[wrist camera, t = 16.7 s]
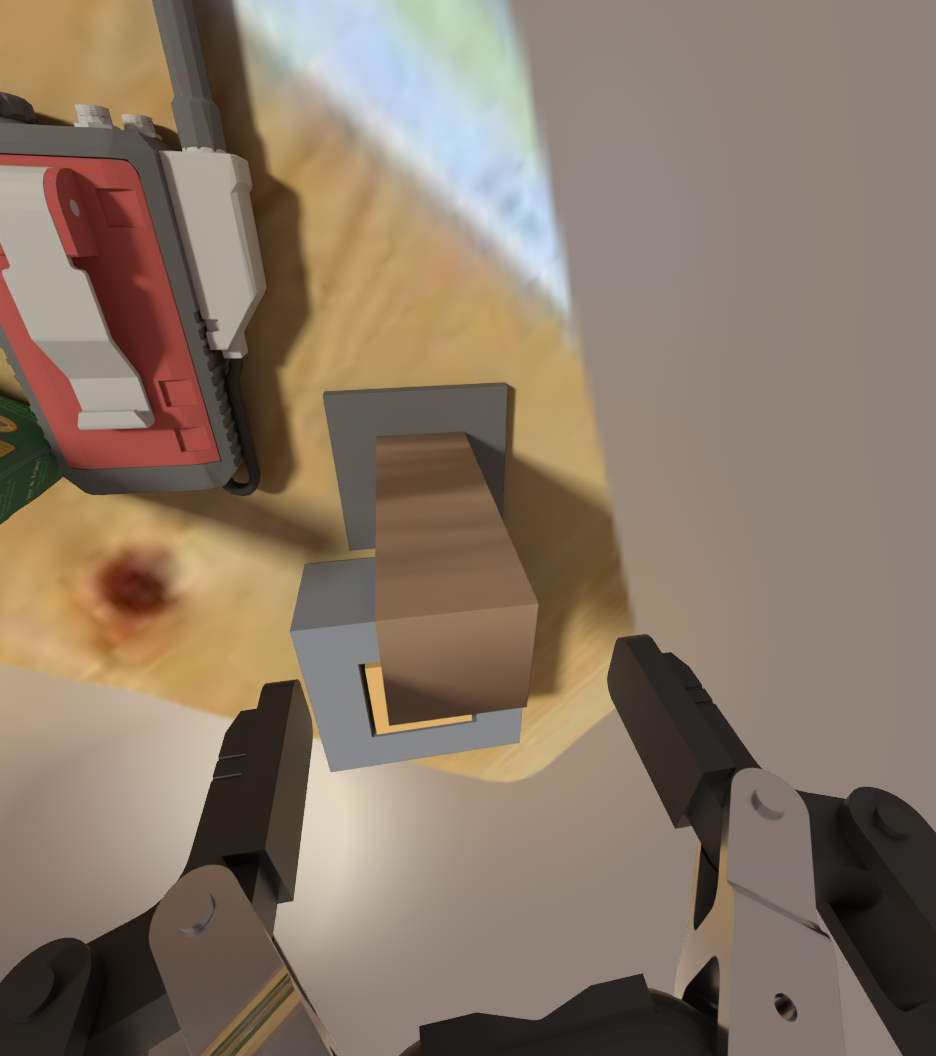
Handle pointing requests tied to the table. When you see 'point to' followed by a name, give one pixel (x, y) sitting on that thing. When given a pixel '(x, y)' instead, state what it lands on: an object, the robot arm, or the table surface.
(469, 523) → the tall cardboard-brown rectangular prism
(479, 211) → the table surface
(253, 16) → the table surface
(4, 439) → the coffee box
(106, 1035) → the robot arm
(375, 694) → the button
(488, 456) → the mat
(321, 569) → the box
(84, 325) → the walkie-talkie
